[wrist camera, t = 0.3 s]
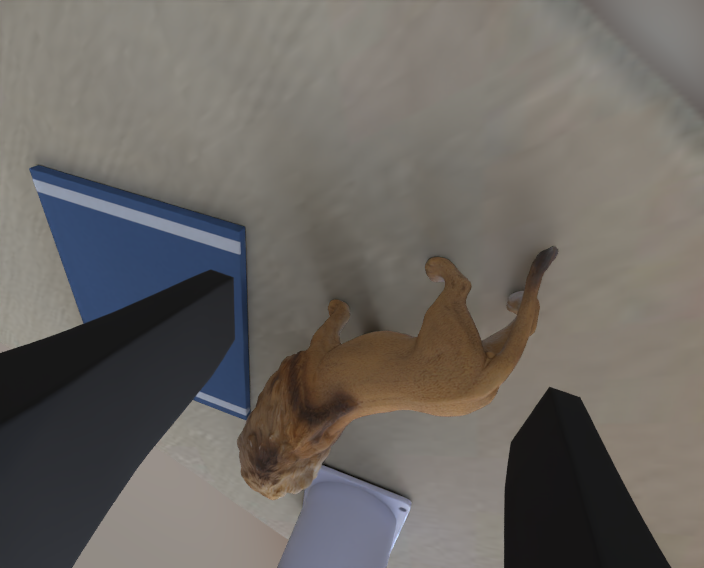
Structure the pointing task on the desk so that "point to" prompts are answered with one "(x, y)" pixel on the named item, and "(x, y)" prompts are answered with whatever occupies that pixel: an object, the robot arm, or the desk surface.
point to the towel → (146, 261)
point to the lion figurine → (381, 378)
